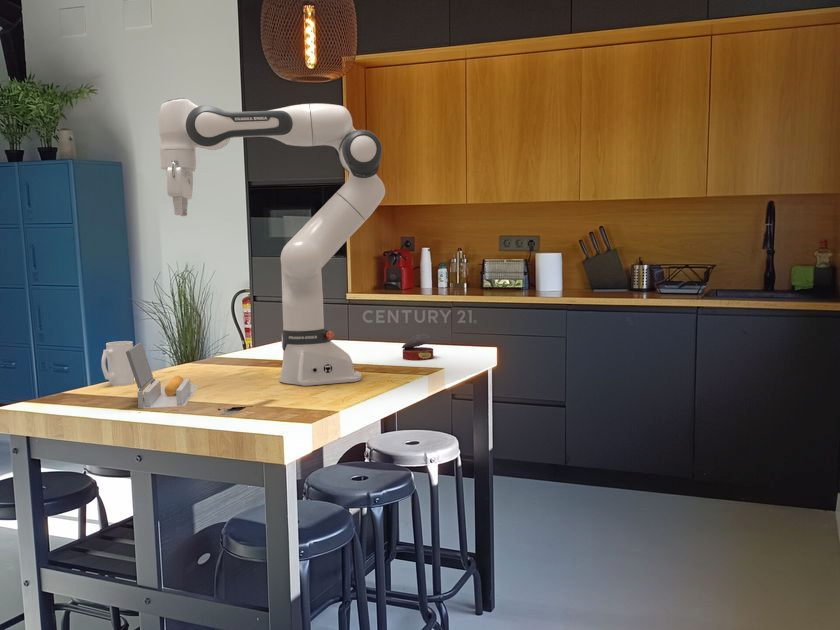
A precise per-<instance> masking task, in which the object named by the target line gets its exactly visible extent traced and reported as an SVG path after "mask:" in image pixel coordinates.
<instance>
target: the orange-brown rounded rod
mask: <svg viewBox="0 0 840 630" xmlns="http://www.w3.org/2000/svg"><path fill="white" fill-rule="evenodd" d="M184 380H185V379H184V378H183V377H182V376H181V375H175V376H174V377H173V378H172V379H171V380H170V381H169V383H168V384H166V387H165V386H164V387H165V394H166V395H167V396H174V395H175V394H176V390H177V389H178V387H179V386H180V385H181V384H182V382H183V381H184Z"/></svg>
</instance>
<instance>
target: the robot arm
mask: <svg viewBox="0 0 840 630" xmlns="http://www.w3.org/2000/svg"><path fill="white" fill-rule="evenodd" d="M158 133H159V137H160V142H161V144H160V150H159V151H160V154H159V155H160V168H161V170H164V171H165V172H166V173H165V174H166V190H167V191H166V192H167V196H168V197H170V198H172V204H173V209H174V210H173V212H174V215H175V216H181V217H187V216H188V205H189V201H188V200H192V198H193V187H194V186H193V185H194V183H193V182H194V181H193V180H194V172H195V171H196V169H197V160H196V159H197V158H196V157H197V155H196V148H200V149H205V150H207V151H217V150H221V149H223V148H225V146H227V145H228V143H230V141H231V140H230V139H233V138H252V137H253V138H255V137H264V138H271V139H274V140H277V141H278V142H281V143H282V144H285V145H287V146H293V147H294V146H295V147H315V146H329V147H333V149H334V151H335V153H336V157H337V158H338V161H339V164H340V165H341V167H342V168H343V169H344V170H345V171H346V172H347V173H348V177H347V179H346V181H345V182H344V183H343V185H342V186H341V187H340V188H339V189H338V190H337V191H336V192H335V193H334V194H333V195H332V196H331V197H330V198H329V199H328V200H327V201H326V202H325V204H324V205H322V206H321V208H320V209H319V210H318V211H317V212H316V213H315V214H313V216H312V217H311V218H310V219H309V220H308V221H307V222H306V223H305V224H304V225H303V227H301V228H300V230H298V232H297V233H296V234H295V235H294V236H293V237H292V238H290V240H289V241H287V243H286V244H285V245H284V246H283V249H282V251H281V254H280V266H281V267H280V268H281V294H282V295H281V297H282V299H281V300H282V303H281V304H282V305H281V306H282V325H283V326H282V327H283V329H282V330H281V348H282V351H283V355H282V366H281V372H280V375H279V380H278V382H280V383H284V384H290V385H299V386H302V387H306V386H307V387H308V386H319V385H329V384H342V383H343V384H344V383H353V382H359V381H360V380H362V378H363V377H362V373H361V372H360V371H357V370H354V364H353V361H352V360H353V359H352V357H351V356H350V354H349V353H348V352H346V351H345V350H344V349H342V348H341V347H340V346H338V345H337V344H336V343H334V342H332V339H333V338H334V336H335V334H334V332H333V331H331V330H330V329H328V328H325V321H324V320H325V319H324V294H323V279H322V277H323V276H322V268H323V267H325V265H326V264H327V263H328V262H329V261H330V260H331V258H332V257H333V256H335V254H336V253H337V252H338V251H339V250H340V248H342V246H343V245H344V244H345V243H347V241H348V240H349V238H351V236H353V235H354V234H355V232H357V230H358V229H359V228H361V227H362V225H363V224H364V223H365V222H366V221H367V220H368V219H369V218H370V217H371V215H372V214H373V213H374V212H375V210H376V209H377V208H378V207H379V205H380V204H381V202H382V201H383V199H384V197H385V195H386V188H385V184H384V182H383V181H382V179H381V178H380V177H379V176H378V172H379V167H380V164H381V160H382V157H383V156H382V155H383V146H382V142H381V141H380V139H379V137H378V136H377V135H376V134H375V133H374V132H371V130H366V129H356V128H355V127H354V124H353V118H352V115H351V113H350V111H349V110H348V108H346V107H345V106H343V105H339V104H333V103H332V104H331V103H301V104H294V105H288V106H285V107H280V108H274V109H269V110H259V111H258V110H257V111H255V110H253V111H252V110H251V111H227V110H225V109H224V110H223V109H221V108H218V107H215V106H213V105H207V104H203V105H197V104H195V103H193V102H192V101H191V100H190V99H188V98H179V97H178V98H173V99H169V100H167V101H164V102H163V103H162V104H161V105H160V108H159V115H158Z"/></svg>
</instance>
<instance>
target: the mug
mask: <svg viewBox="0 0 840 630" xmlns="http://www.w3.org/2000/svg"><path fill="white" fill-rule="evenodd" d="M133 343H134V342H133V341H128V340H124V341H123V340H122V341H121V340H119V341H111V342H106V344H105V346H106V347H105V348H106V349H103V352H102V356H101V361H100V362H101V365H100V367H101V370H102V373H103V376H104V379H105V380H108V382H109V384H108V385H110V386H116V387H117V386H127V385H128V386H129V385H132V384H134V383H135V378H134V375H133V372H132V369H131V366H130V363H129V360H128V358H127V355H126V351H128V350H129V349H131V348H132V347H134V344H133ZM106 361H107V362H106ZM106 363H107V365H106Z"/></svg>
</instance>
